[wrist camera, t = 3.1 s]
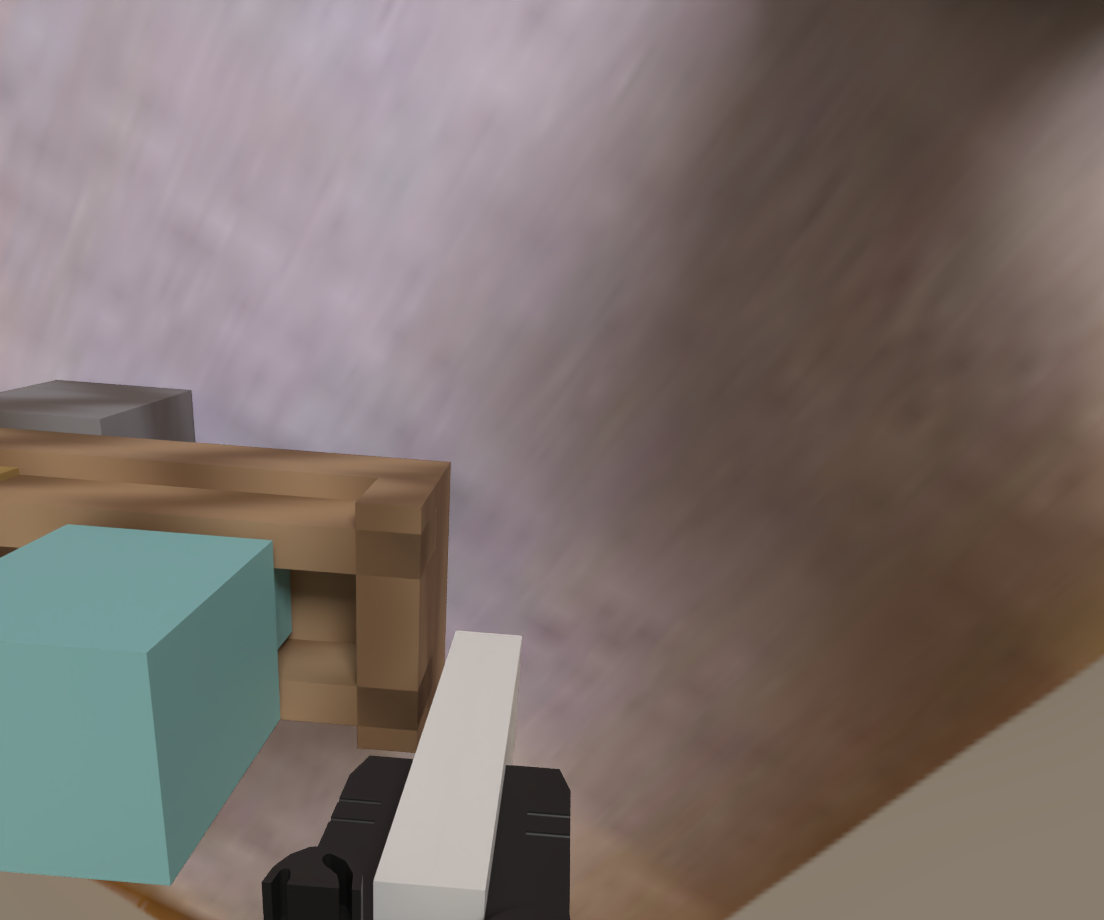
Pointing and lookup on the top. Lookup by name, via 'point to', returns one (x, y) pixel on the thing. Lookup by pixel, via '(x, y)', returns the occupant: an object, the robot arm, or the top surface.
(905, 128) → the top surface
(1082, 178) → the top surface
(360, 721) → the beam
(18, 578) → the block
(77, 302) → the top surface
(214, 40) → the top surface
